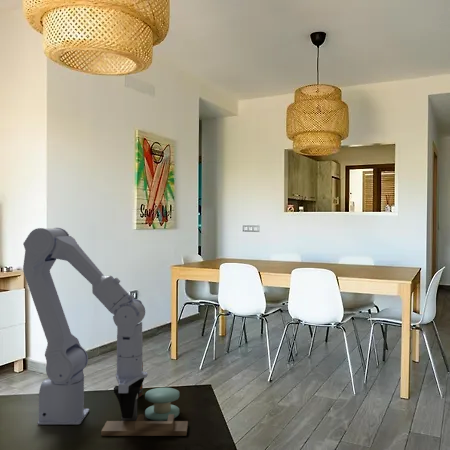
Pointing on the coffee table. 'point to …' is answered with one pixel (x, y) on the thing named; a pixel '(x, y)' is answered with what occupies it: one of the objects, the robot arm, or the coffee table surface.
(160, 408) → the disc
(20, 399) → the coffee table surface
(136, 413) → the plug
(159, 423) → the board
